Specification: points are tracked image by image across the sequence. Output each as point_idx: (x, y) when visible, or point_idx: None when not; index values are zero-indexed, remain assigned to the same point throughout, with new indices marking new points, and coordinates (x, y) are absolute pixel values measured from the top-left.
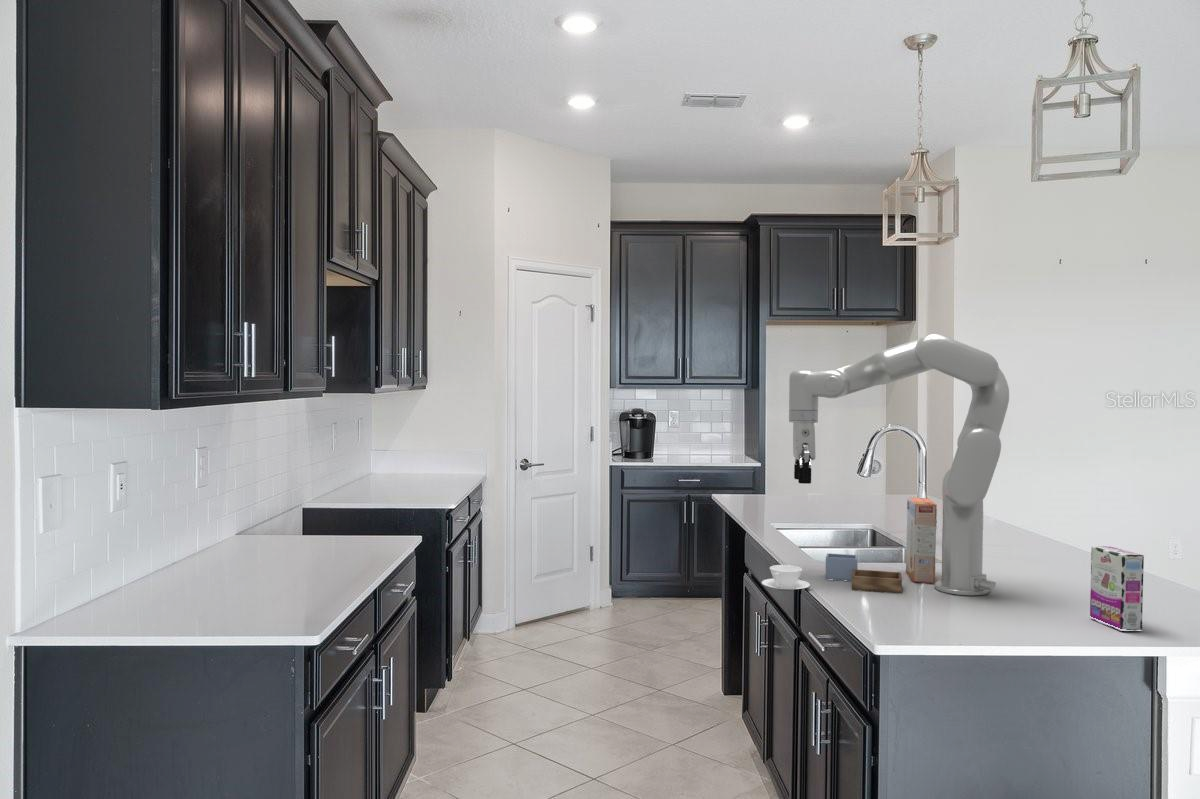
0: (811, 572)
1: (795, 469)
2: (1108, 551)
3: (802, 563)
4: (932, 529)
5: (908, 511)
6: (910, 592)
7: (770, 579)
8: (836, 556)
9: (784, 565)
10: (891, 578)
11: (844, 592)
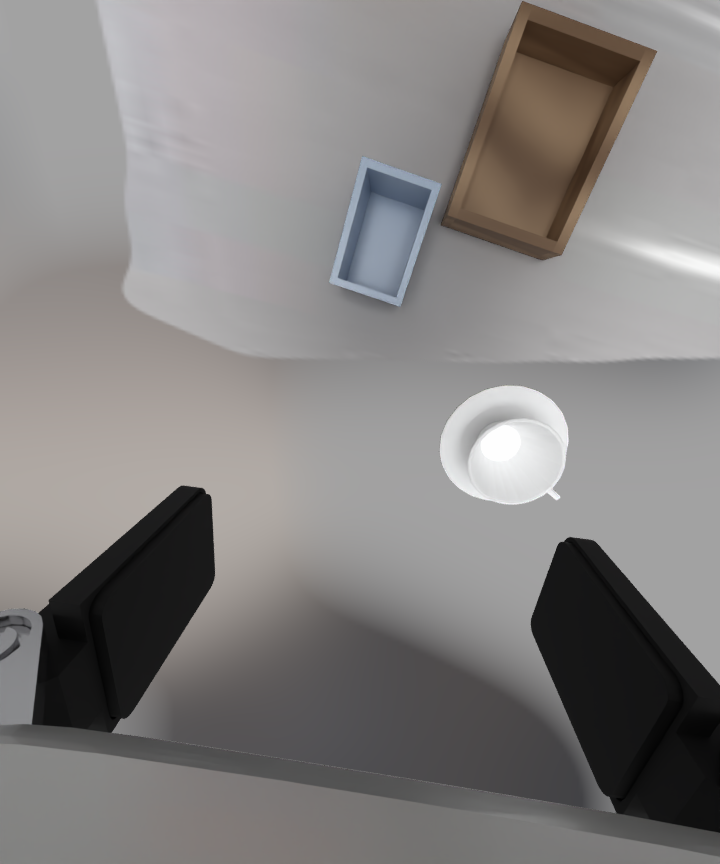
0: (299, 324)
1: (160, 661)
2: None
3: (173, 320)
4: None
5: None
6: None
7: (450, 472)
8: (346, 249)
9: (471, 457)
10: (626, 95)
11: (566, 291)
